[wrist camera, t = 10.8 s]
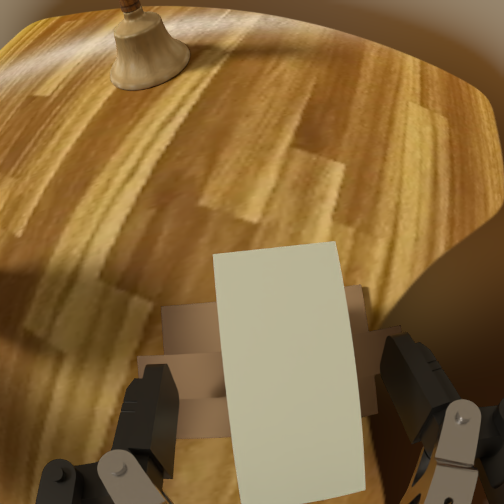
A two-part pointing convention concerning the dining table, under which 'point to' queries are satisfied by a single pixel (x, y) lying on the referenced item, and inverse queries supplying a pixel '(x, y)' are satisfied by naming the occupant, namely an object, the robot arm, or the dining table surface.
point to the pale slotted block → (289, 374)
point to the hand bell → (145, 50)
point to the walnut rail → (211, 364)
